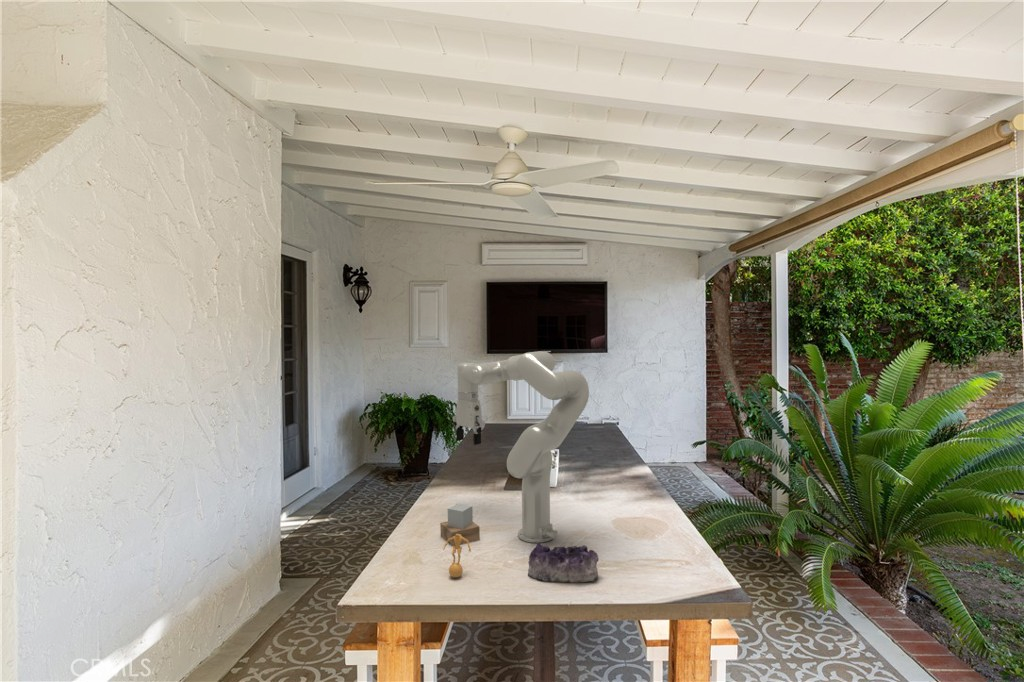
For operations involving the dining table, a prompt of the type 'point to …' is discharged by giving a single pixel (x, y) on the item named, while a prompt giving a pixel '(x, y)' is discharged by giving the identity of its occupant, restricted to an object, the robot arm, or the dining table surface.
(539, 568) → the geode
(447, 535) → the walnut block
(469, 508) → the slate block
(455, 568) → the figurine
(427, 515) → the dining table surface
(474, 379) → the robot arm
